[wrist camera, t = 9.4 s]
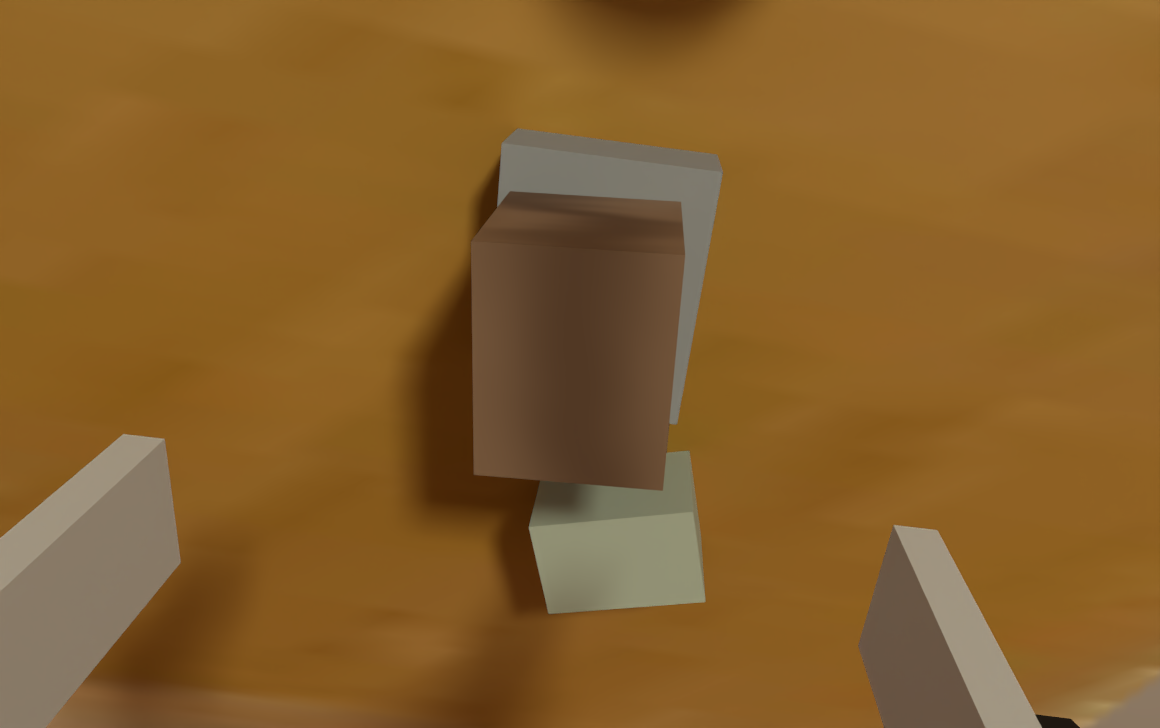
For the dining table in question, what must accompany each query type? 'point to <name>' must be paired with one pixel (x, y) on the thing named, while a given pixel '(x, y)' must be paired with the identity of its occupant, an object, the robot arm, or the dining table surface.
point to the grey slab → (631, 175)
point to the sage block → (619, 543)
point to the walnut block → (575, 338)
